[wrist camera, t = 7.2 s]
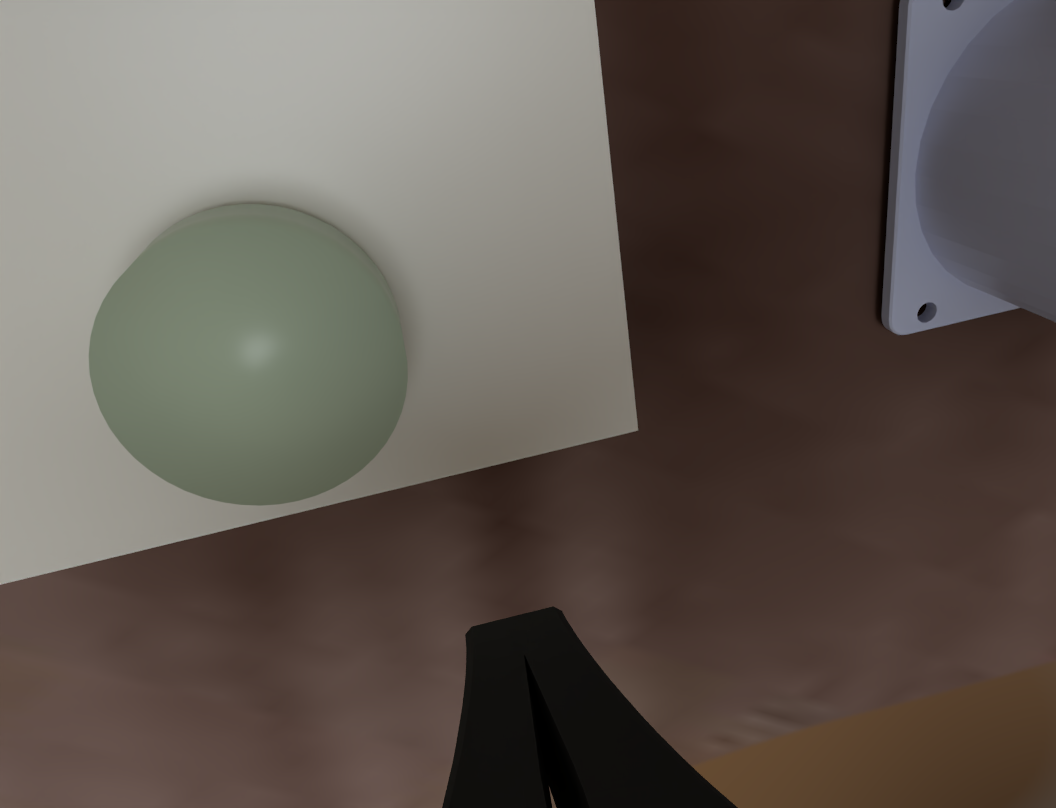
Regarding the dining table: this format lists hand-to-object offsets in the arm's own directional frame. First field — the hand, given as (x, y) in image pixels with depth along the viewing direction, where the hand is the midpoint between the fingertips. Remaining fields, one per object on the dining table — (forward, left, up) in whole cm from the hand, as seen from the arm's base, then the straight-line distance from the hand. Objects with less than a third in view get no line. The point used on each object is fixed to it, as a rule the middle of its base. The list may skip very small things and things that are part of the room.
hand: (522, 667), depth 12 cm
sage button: (+3, -4, -6) cm, 8 cm away
